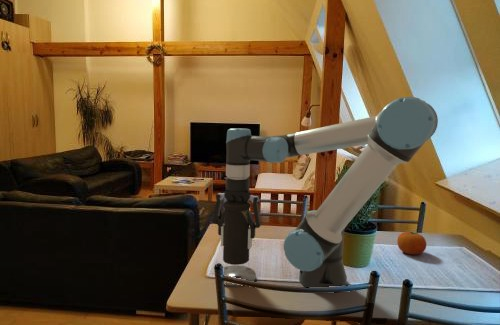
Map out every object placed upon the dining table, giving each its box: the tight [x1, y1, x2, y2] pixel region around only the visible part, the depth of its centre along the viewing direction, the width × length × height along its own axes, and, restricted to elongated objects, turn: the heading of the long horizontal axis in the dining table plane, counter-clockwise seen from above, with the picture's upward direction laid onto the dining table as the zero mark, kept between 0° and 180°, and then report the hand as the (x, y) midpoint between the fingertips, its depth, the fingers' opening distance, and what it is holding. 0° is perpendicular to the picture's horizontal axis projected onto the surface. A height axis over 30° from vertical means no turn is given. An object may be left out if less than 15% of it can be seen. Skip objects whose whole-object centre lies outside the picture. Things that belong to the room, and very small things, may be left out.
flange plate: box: [222, 265, 257, 288], centre depth 114 cm, size 13×13×1 cm
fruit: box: [396, 231, 427, 256], centre depth 139 cm, size 11×10×8 cm
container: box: [222, 200, 252, 266], centre depth 112 cm, size 9×9×20 cm
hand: (236, 246), depth 113 cm, fingers closed on container, 8 cm apart
